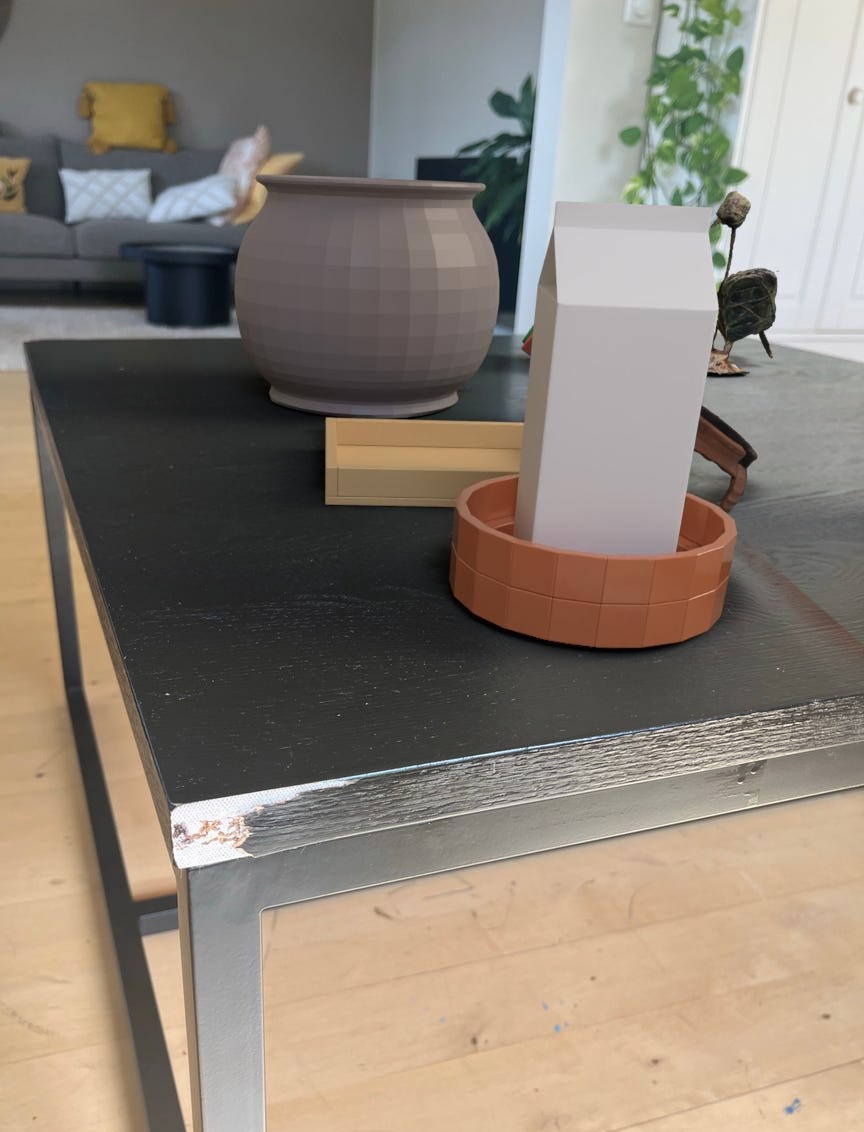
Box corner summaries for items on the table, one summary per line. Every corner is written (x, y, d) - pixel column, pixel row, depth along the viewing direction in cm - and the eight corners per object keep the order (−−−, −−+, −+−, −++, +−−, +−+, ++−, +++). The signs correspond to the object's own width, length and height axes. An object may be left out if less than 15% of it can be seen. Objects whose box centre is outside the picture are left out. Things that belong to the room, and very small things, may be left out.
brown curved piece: (618, 477, 77) (689, 389, 73) (707, 557, 73) (787, 469, 70) (549, 467, 67) (627, 365, 64) (648, 558, 64) (736, 456, 60)
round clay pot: (184, 406, 92) (172, 171, 83) (314, 367, 112) (316, 175, 104) (430, 443, 83) (445, 183, 74) (523, 393, 103) (543, 185, 95)
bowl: (668, 554, 60) (682, 474, 58) (762, 659, 47) (784, 561, 45) (437, 551, 59) (442, 469, 57) (468, 656, 46) (476, 556, 44)
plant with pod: (770, 383, 114) (809, 194, 106) (670, 373, 117) (699, 189, 109) (768, 371, 121) (804, 193, 113) (674, 363, 124) (702, 189, 116)
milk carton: (664, 620, 50) (736, 210, 42) (524, 614, 50) (568, 203, 42) (634, 568, 56) (691, 205, 48) (509, 564, 56) (545, 199, 48)
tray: (540, 454, 81) (543, 422, 80) (582, 509, 68) (587, 473, 66) (325, 449, 80) (325, 417, 78) (325, 505, 66) (325, 467, 65)
